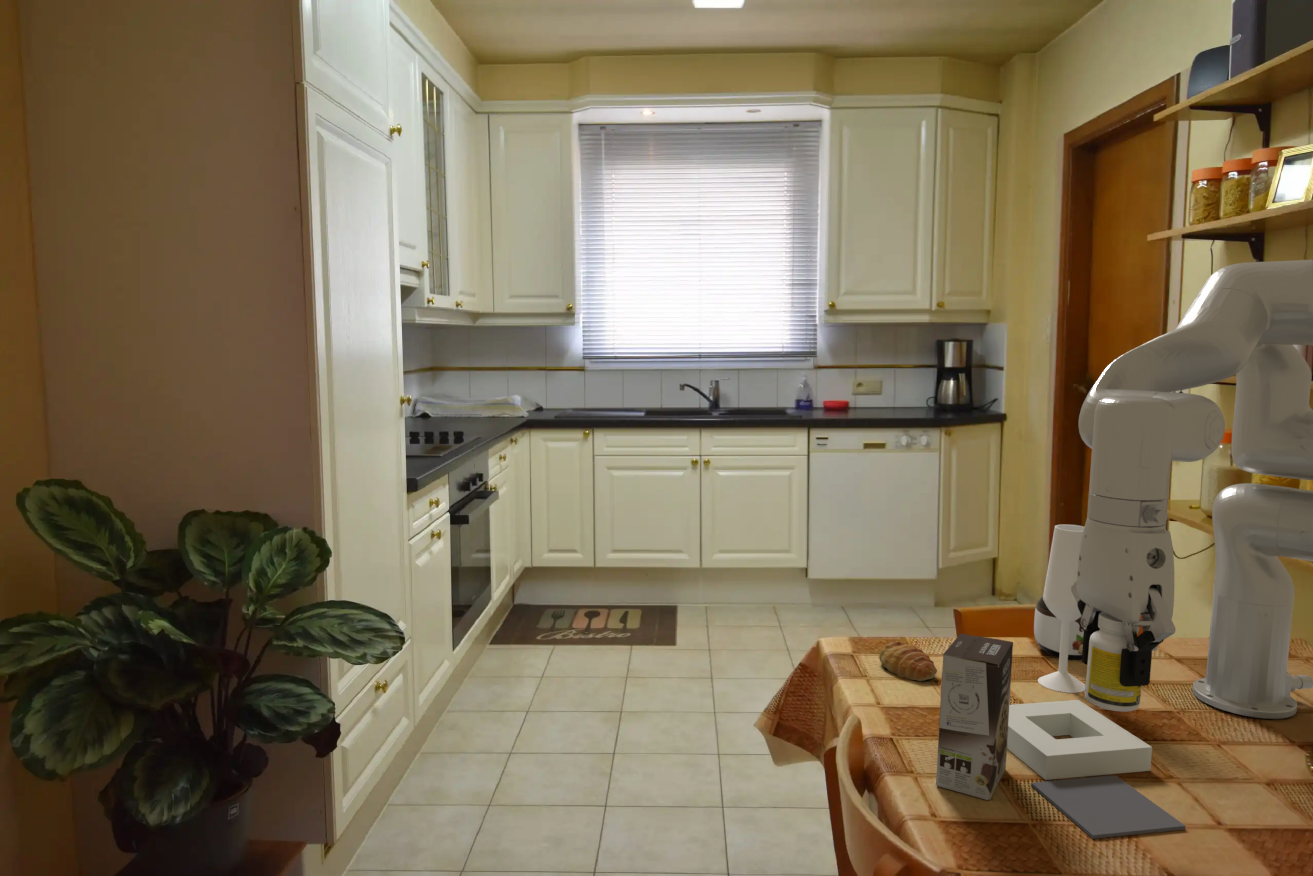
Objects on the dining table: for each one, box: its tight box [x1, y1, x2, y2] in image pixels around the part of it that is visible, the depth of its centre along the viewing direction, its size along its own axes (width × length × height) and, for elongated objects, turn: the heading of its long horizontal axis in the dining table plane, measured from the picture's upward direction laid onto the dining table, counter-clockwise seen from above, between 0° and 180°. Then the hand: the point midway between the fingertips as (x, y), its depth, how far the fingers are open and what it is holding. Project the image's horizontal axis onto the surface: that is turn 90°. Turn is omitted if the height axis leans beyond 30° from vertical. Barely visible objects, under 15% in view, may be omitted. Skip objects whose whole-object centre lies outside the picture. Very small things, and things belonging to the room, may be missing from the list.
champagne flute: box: [1037, 523, 1086, 694], centre depth 133 cm, size 7×7×24 cm
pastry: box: [878, 640, 938, 682], centre depth 139 cm, size 9×7×4 cm
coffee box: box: [935, 633, 1014, 801], centre depth 105 cm, size 9×6×16 cm
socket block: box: [1007, 699, 1153, 781], centre depth 113 cm, size 14×14×3 cm
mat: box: [1030, 774, 1186, 840], centre depth 99 cm, size 11×11×1 cm
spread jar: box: [1033, 595, 1101, 661], centre depth 148 cm, size 12×11×12 cm
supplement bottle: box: [1084, 612, 1142, 713], centre depth 97 cm, size 5×5×10 cm
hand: (1114, 672), depth 98 cm, fingers closed on supplement bottle, 5 cm apart
